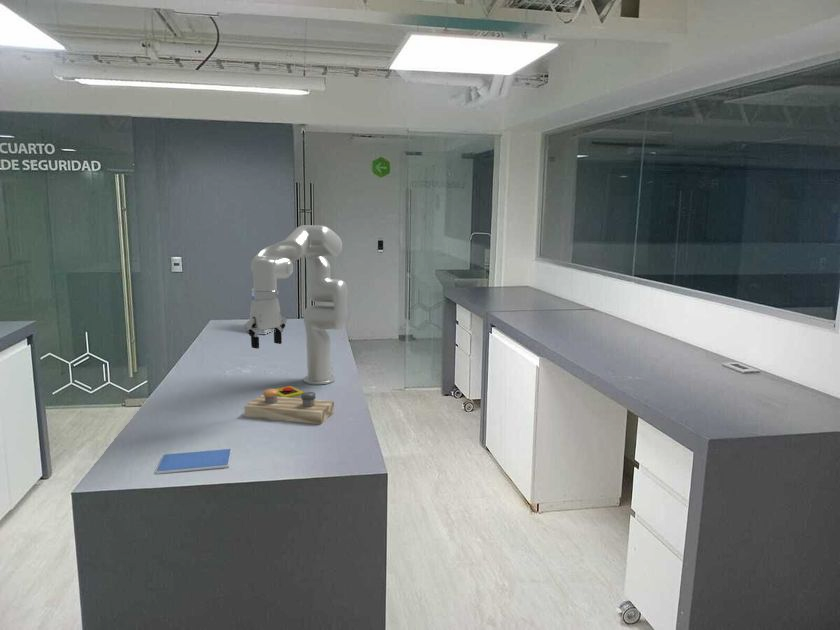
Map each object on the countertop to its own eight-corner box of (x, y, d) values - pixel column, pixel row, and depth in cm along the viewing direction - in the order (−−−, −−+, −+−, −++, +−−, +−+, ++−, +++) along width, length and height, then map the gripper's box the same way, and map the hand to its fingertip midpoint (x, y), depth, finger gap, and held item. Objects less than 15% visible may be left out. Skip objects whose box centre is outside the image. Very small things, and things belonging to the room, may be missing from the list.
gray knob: (305, 406, 212) (304, 391, 211) (317, 407, 211) (317, 392, 210) (299, 410, 208) (298, 395, 207) (312, 412, 207) (312, 396, 206)
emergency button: (284, 395, 220) (266, 385, 232) (285, 406, 221) (266, 396, 232) (307, 390, 226) (288, 381, 237) (307, 401, 227) (288, 392, 238)
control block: (261, 405, 220) (261, 395, 220) (334, 412, 214) (334, 401, 213) (244, 416, 209) (244, 405, 208) (321, 423, 203) (320, 412, 202)
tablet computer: (154, 476, 164) (154, 471, 164) (163, 457, 176) (162, 453, 176) (229, 470, 168) (229, 465, 168) (232, 452, 180) (232, 447, 180)
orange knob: (268, 403, 215) (267, 388, 214) (280, 404, 214) (280, 389, 213) (261, 407, 211) (261, 392, 210) (274, 408, 210) (274, 393, 209)
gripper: (277, 292, 213) (279, 340, 215) (237, 297, 199) (238, 348, 201) (292, 294, 208) (293, 343, 211) (251, 299, 194) (253, 351, 197)
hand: (266, 345), depth 206 cm, fingers open, 9 cm apart
